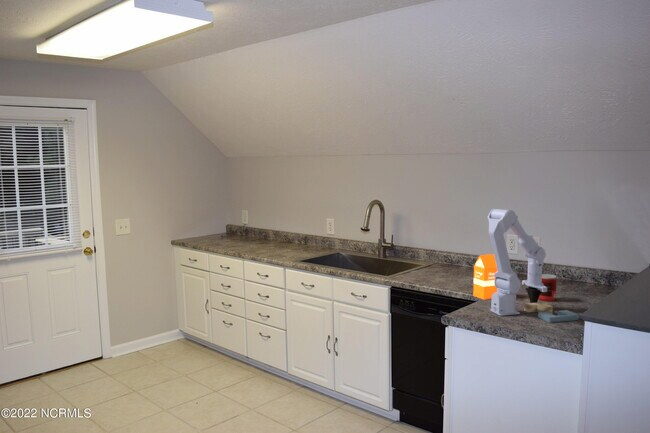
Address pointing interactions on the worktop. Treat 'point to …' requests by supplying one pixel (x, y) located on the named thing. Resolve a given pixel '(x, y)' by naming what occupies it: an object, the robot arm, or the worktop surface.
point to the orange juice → (485, 276)
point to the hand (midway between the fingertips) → (533, 304)
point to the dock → (561, 316)
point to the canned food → (549, 287)
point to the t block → (539, 307)
